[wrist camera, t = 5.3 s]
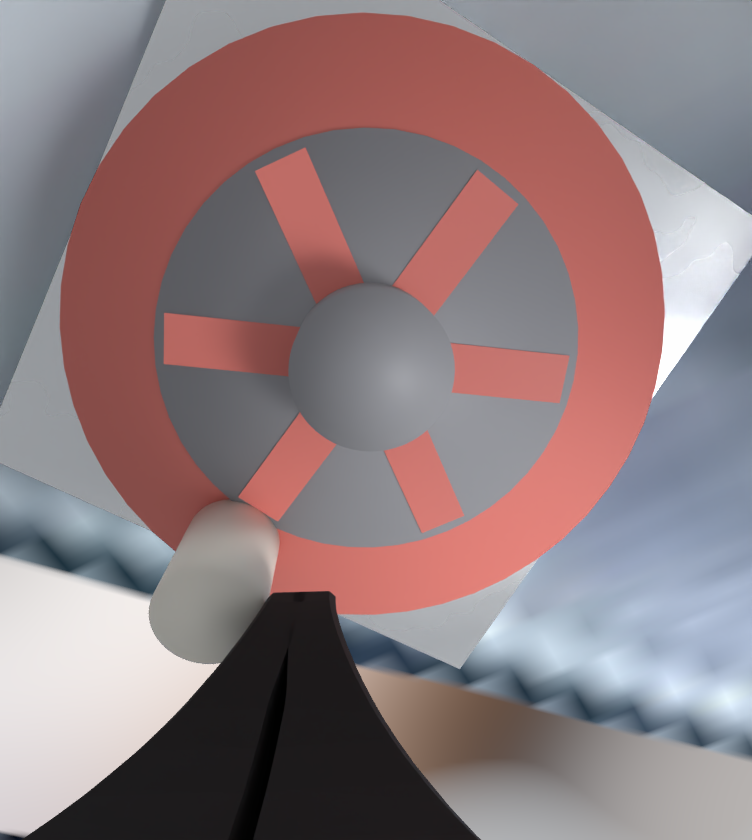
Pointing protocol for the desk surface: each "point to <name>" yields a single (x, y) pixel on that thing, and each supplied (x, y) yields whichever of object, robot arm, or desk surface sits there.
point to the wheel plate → (282, 3)
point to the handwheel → (357, 320)
